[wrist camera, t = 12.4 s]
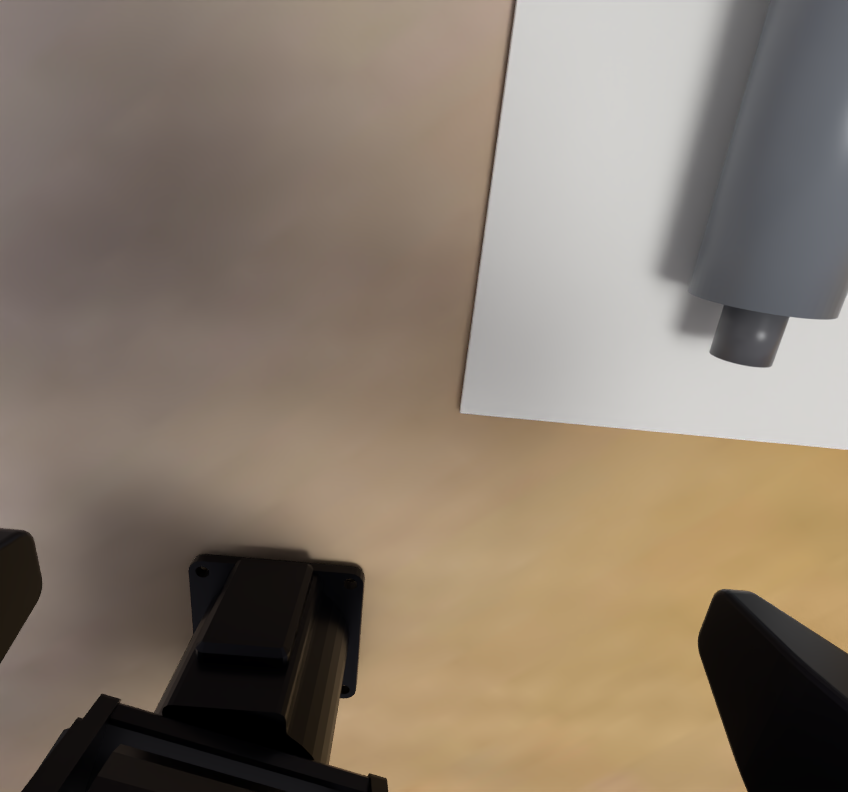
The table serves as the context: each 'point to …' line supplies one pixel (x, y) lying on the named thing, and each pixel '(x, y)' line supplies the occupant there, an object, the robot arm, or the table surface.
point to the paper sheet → (629, 233)
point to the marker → (782, 187)
